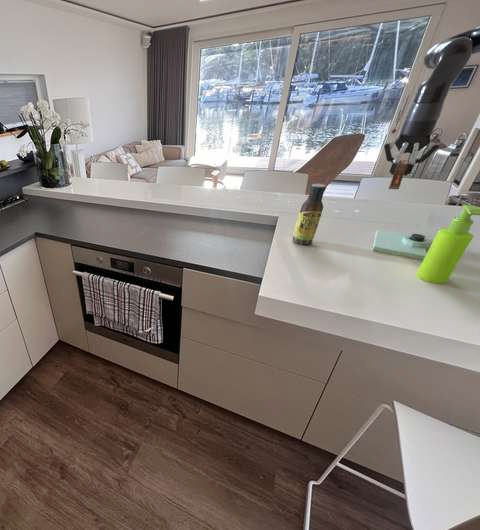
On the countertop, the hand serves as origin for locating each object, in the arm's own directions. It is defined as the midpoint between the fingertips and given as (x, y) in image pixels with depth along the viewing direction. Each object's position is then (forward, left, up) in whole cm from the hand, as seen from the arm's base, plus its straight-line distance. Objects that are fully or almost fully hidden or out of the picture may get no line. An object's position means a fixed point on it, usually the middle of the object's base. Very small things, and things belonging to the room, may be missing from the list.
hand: (398, 174), depth 98 cm
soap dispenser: (-13, +37, -18) cm, 43 cm away
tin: (0, 0, -4) cm, 4 cm away
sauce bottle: (+19, +30, -18) cm, 40 cm away
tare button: (-9, +18, -16) cm, 25 cm away
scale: (-6, +18, -18) cm, 26 cm away
